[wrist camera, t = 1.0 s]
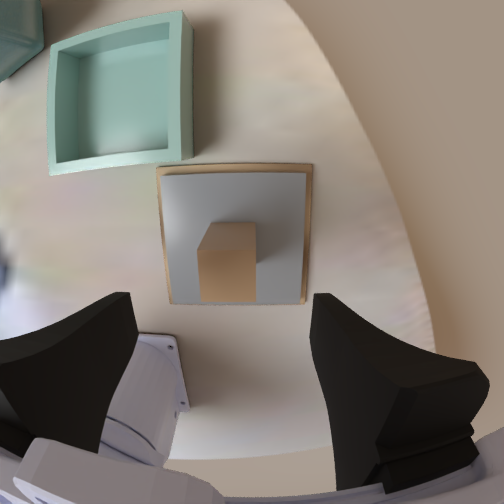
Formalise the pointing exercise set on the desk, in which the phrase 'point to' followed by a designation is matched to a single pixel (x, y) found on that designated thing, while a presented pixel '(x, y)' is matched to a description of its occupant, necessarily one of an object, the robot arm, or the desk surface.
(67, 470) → the robot arm
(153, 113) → the dish
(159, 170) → the mat
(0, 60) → the flower pot
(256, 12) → the desk surface
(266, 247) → the lid
